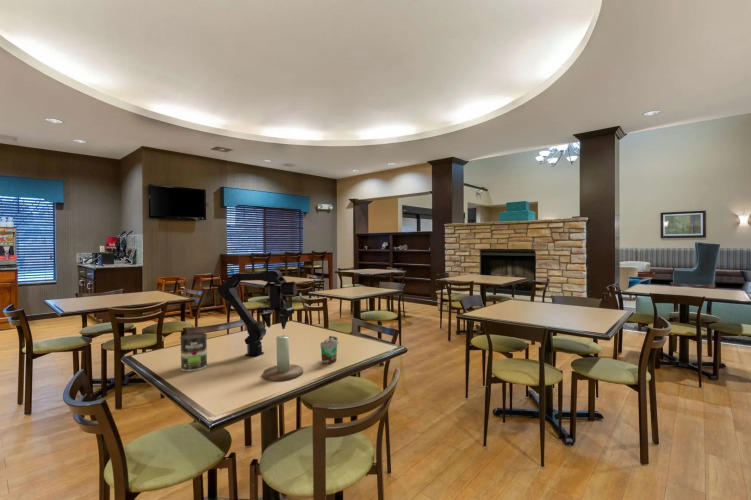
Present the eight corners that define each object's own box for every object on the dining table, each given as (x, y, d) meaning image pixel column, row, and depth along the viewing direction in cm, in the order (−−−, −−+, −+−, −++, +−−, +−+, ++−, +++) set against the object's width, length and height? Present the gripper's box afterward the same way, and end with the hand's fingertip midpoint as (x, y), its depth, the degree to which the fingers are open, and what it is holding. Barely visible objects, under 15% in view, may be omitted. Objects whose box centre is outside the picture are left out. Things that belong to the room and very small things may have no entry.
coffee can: (207, 368, 155) (207, 336, 155) (180, 373, 151) (180, 339, 150) (206, 362, 164) (206, 331, 164) (181, 366, 160) (180, 334, 160)
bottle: (275, 373, 146) (275, 338, 145) (278, 368, 151) (277, 335, 150) (288, 372, 146) (287, 338, 146) (290, 368, 151) (289, 335, 151)
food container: (334, 365, 157) (333, 343, 157) (320, 365, 158) (320, 342, 158) (342, 357, 169) (342, 336, 169) (329, 356, 170) (329, 335, 170)
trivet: (254, 377, 145) (254, 374, 145) (282, 365, 159) (281, 362, 159) (284, 383, 137) (284, 380, 137) (311, 370, 152) (310, 367, 152)
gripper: (301, 294, 176) (302, 326, 176) (272, 293, 185) (273, 323, 185) (285, 297, 166) (286, 331, 167) (256, 296, 175) (257, 328, 175)
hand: (276, 328), depth 174 cm, fingers open, 9 cm apart
